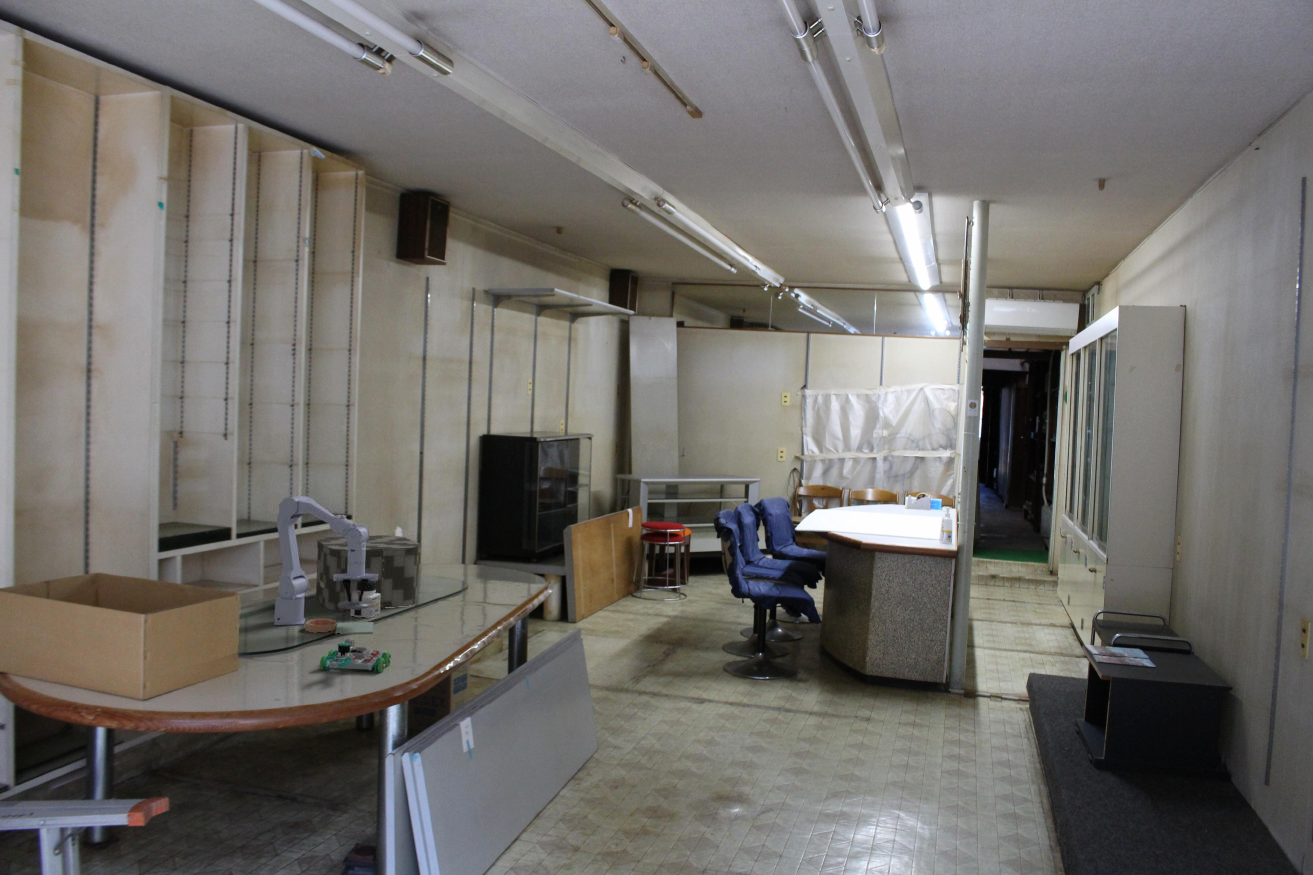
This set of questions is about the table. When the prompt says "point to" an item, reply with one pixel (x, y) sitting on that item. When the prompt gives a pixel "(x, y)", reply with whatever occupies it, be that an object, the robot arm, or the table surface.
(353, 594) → the lid
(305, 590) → the robot arm
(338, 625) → the mat
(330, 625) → the bowl
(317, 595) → the storage box
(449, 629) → the table surface
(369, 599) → the container
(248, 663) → the table surface
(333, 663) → the robot kit
